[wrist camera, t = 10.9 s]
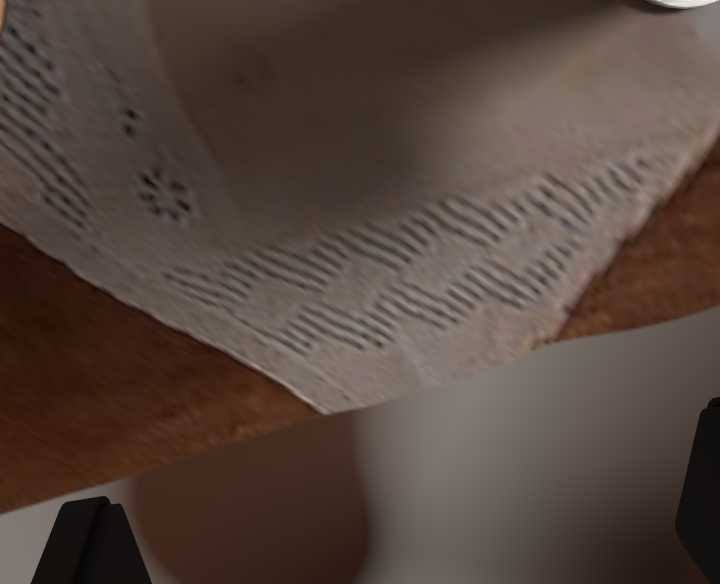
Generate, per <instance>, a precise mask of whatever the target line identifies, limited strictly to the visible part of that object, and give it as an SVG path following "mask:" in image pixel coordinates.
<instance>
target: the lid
mask: <svg viewBox="0 0 720 584" xmlns="http://www.w3.org/2000/svg"><path fill="white" fill-rule="evenodd" d="M7 7H8V0H0V41H1V38H2V34H3V30H4V27H5V23H6V15H7Z"/></svg>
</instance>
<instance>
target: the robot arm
mask: <svg viewBox="0 0 720 584" xmlns="http://www.w3.org/2000/svg"><path fill="white" fill-rule="evenodd" d="M646 1H648V2H650V3H652V4H655V5H659V6H663V7H667V8H680V9H688V8H697V7H704V6H707V5H710V4H713V3H716V2H719V1H720V0H646ZM675 526H676V532H677V535H678V537H679V540H680V542H681V543H682V545H683V546H684V548H685V549H686V550H687V552H688V553H689V555H690V556H691V557H692V559H693V560H694V561H695V563H696V564H697V565H698V567H699V568H700V570H701V571H702V572H703V574H704V575H705V577H706V578H707V579H708V581H709V582H710V583H711V584H720V397H717V398H713V399H712V400H711V401H709V404H708V406H707V408H706V409H703V410H702V411H701V413H700V417H699V421H698V425H697V429H696V434H695V438H694V442H693V447H692V451H691V456H690V459H689V464H688V469H687V473H686V477H685V481H684V486H683V490H682V494H681V498H680V503H679V507H678V511H677V516H676V521H675ZM31 584H152V583H151V580H150V577H149V575H148V572H147V569H146V567H145V564H144V562H143V559H142V556H141V554H140V551H139V548H138V546H137V543H136V540H135V538H134V535H133V533H132V530H131V527H130V525H129V522H128V520H127V517H126V514H125V512H124V509H123V507H122V505H121V504H112V505H111V503H110V501H109V499H108V498H107V497H106V496H100V497H94V498H88V499H82V500H76V501H69V502H65V503H64V504H63V505H62V507H61V509H60V510H59V513H58V515H57V518H56V521H55V523H54V526H53V528H52V531H51V533H50V536H49V538H48V541H47V543H46V546H45V549H44V551H43V554H42V557H41V559H40V562H39V564H38V567H37V569H36V572H35V574H34V577H33V579H32V582H31Z"/></svg>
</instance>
